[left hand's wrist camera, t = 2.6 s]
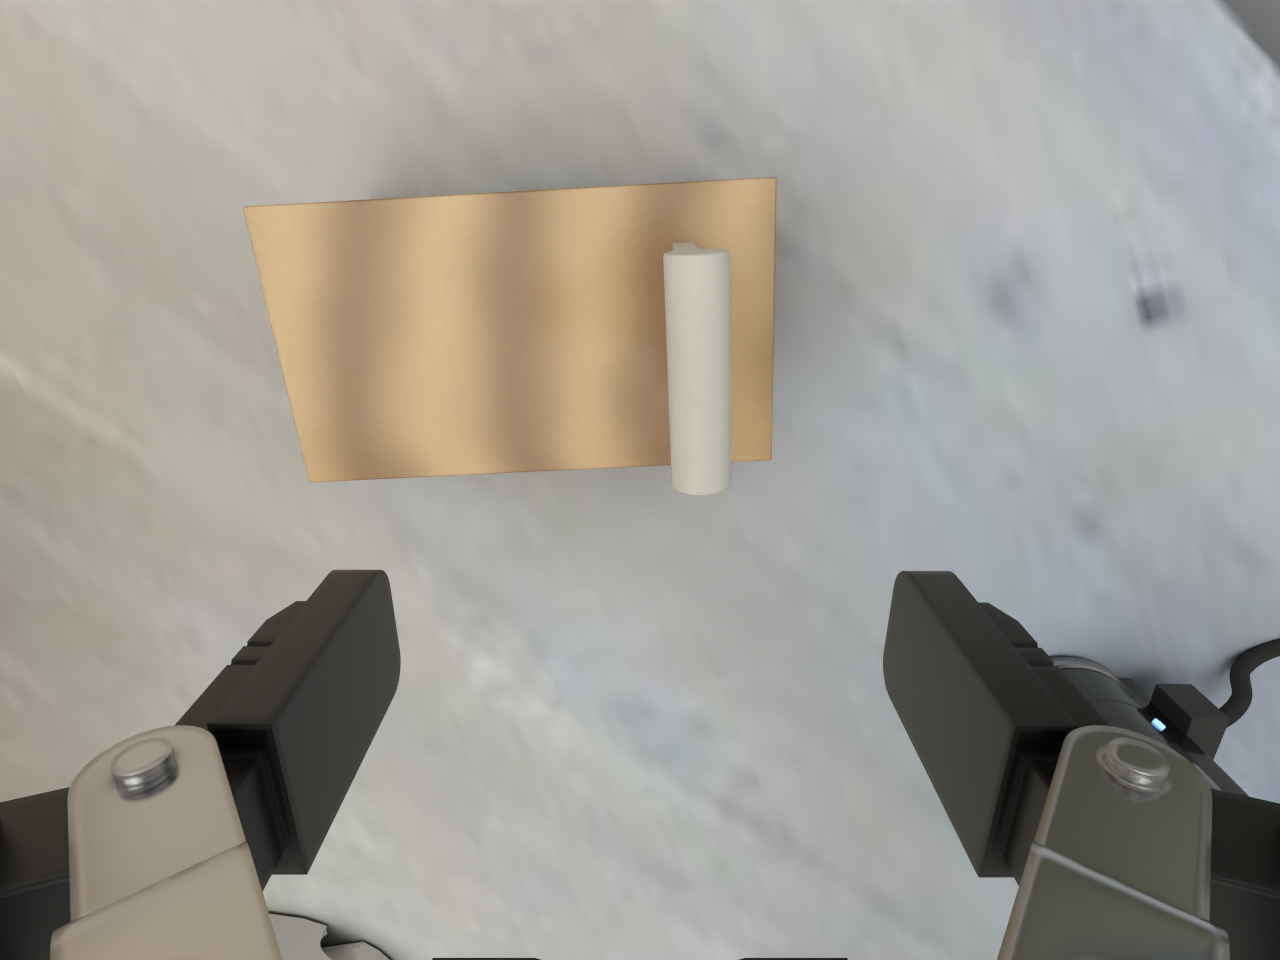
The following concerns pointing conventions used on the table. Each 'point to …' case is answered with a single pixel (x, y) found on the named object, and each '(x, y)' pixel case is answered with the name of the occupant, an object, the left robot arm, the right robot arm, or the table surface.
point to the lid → (527, 330)
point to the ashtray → (315, 942)
